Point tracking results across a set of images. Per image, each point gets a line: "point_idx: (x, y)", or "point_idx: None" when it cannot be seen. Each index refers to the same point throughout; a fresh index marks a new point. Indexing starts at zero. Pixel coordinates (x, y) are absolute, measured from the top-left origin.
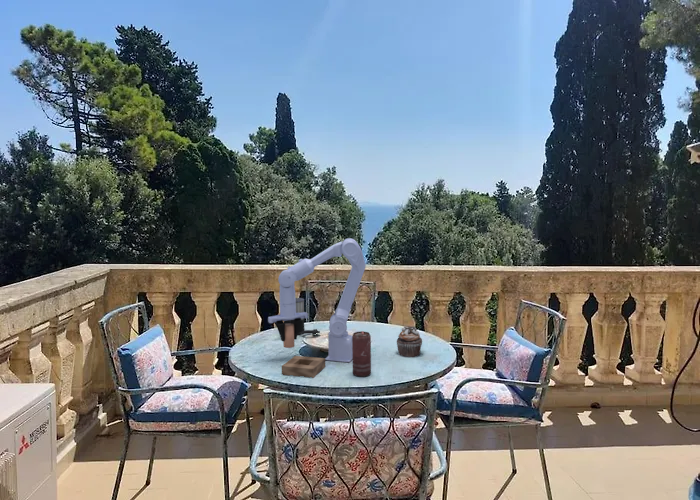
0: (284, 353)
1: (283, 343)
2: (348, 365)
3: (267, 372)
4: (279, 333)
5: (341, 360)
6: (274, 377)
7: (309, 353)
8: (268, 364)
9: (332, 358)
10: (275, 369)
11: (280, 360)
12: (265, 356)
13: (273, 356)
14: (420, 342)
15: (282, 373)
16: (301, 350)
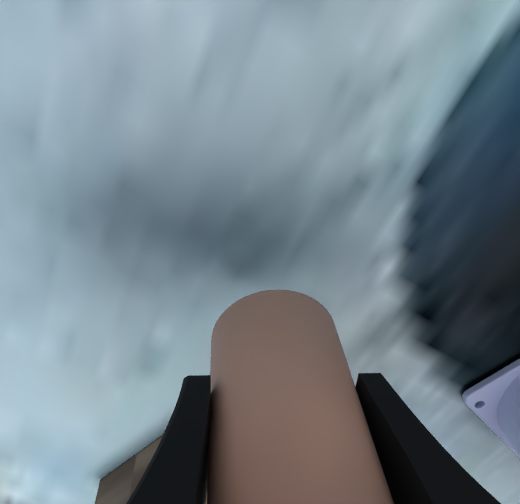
0: (302, 65)
1: (212, 358)
2: (495, 491)
3: (17, 424)
4: (157, 449)
5: (517, 454)
6: (47, 494)
7: (494, 201)
8: (53, 293)
9: (500, 423)
10: (84, 400)
11: (180, 251)
12: (69, 51)
13: (155, 103)
14: None
15: (102, 489)
16: (506, 65)
